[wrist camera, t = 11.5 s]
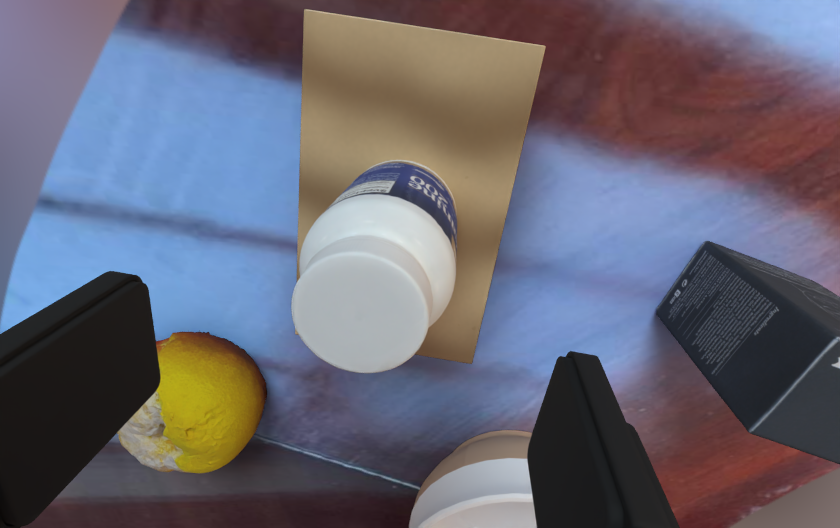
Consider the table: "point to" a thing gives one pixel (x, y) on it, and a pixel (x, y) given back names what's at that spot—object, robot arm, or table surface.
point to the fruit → (197, 406)
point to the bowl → (479, 486)
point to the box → (762, 345)
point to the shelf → (419, 135)
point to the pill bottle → (377, 268)
